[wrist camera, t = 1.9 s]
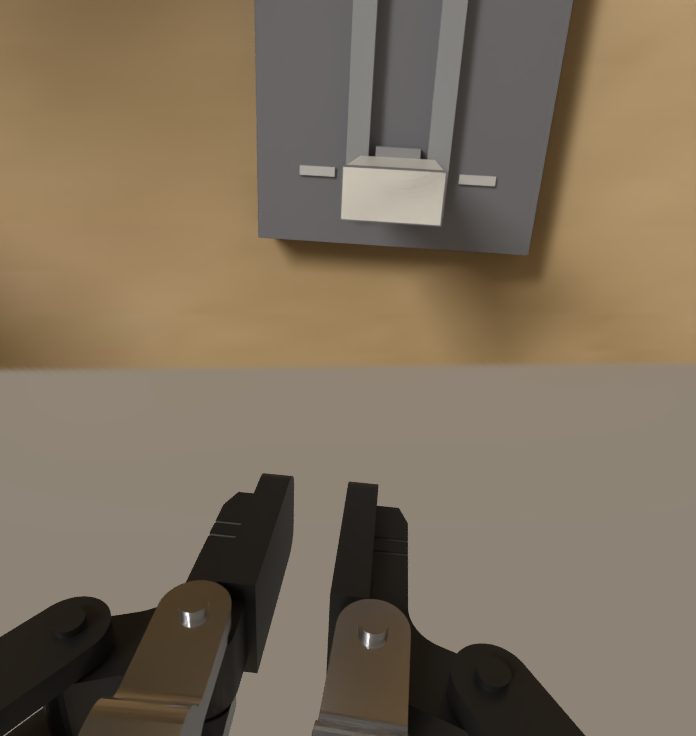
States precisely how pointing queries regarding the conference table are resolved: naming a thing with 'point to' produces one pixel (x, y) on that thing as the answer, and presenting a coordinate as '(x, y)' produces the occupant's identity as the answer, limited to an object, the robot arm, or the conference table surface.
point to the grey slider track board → (407, 112)
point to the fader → (393, 188)
